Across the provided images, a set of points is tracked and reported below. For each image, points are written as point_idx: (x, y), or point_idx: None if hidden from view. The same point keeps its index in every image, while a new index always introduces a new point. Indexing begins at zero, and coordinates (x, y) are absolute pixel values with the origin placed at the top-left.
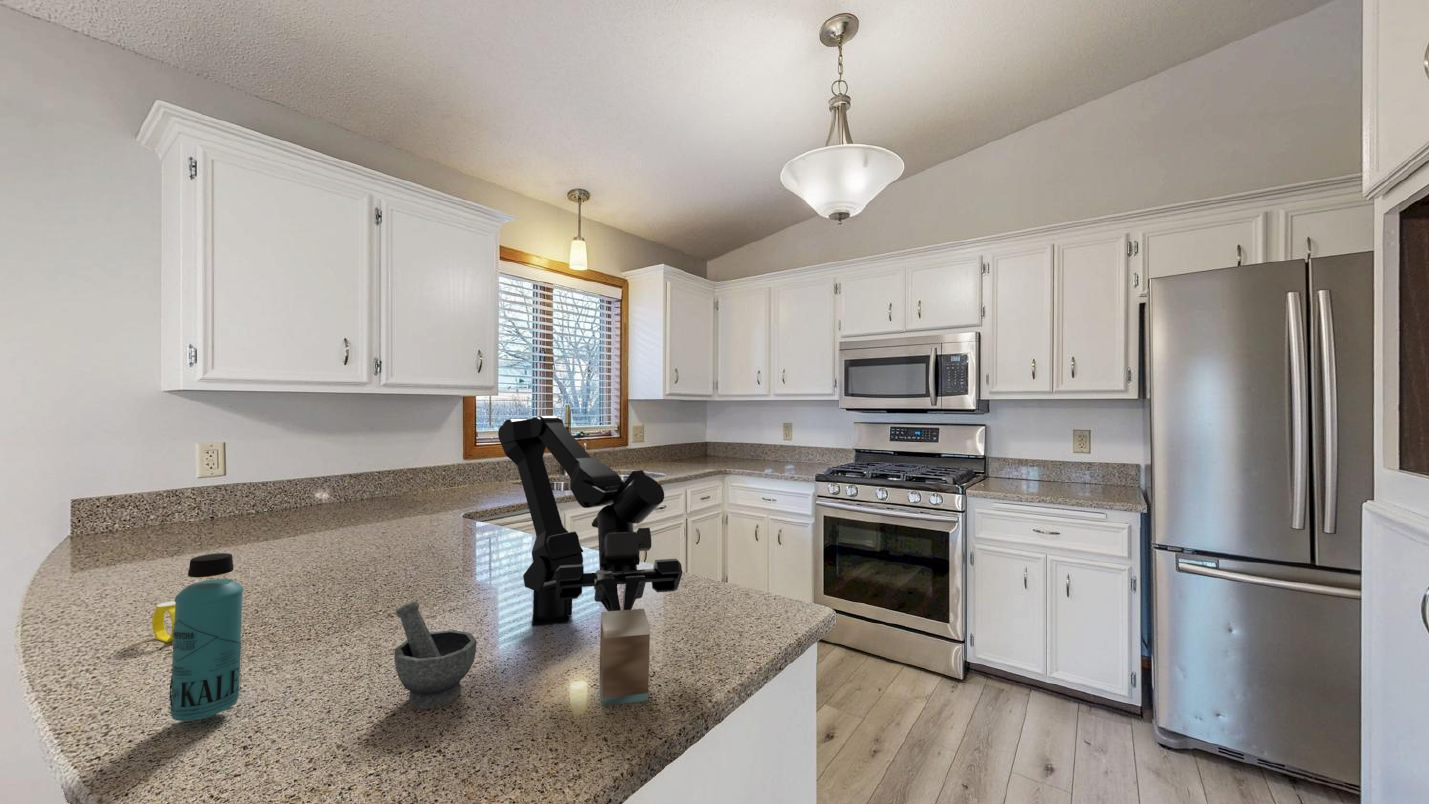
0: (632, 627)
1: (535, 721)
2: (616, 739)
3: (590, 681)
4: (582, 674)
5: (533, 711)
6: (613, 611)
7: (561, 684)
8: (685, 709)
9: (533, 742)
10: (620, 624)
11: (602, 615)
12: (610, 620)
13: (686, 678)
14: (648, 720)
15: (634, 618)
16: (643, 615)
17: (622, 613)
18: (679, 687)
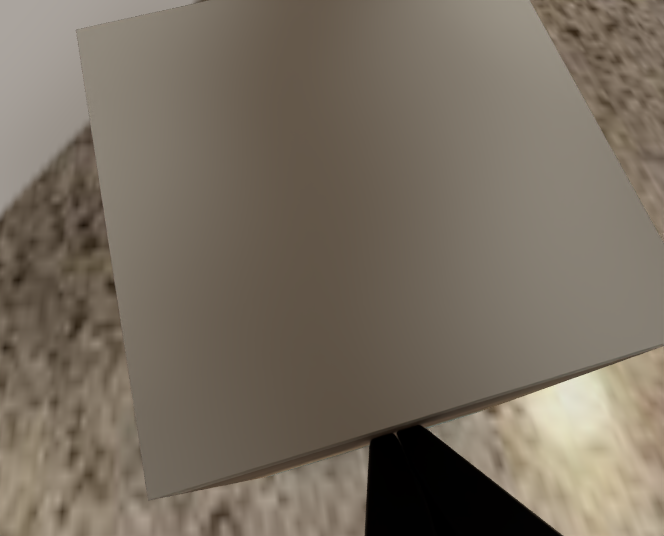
0: (248, 4)
1: (617, 122)
2: None
3: (523, 437)
4: (590, 515)
5: (658, 181)
6: (556, 362)
7: (649, 400)
8: (68, 216)
9: (565, 20)
10: (377, 50)
11: (646, 228)
12: (506, 118)
13: (37, 496)
14: None
15: (250, 187)
16: (147, 277)
17: (420, 308)
18: (80, 397)
